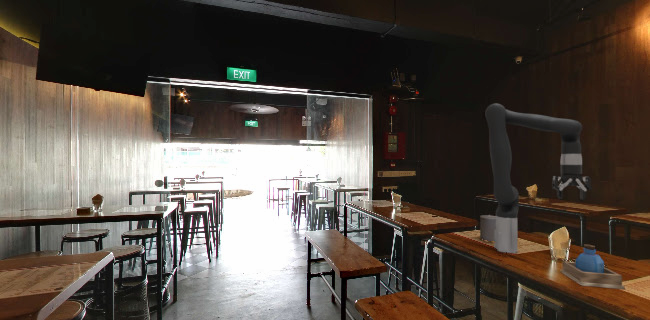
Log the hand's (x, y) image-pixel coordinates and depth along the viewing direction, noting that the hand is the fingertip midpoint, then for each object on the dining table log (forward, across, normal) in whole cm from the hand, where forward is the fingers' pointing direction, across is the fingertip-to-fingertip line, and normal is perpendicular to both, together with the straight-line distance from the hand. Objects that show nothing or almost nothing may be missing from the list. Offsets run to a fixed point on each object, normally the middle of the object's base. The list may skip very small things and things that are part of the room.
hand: (571, 198), depth 130 cm
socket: (+28, -7, -25) cm, 38 cm away
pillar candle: (+28, -26, +27) cm, 47 cm away
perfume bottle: (+27, -7, -25) cm, 38 cm away
